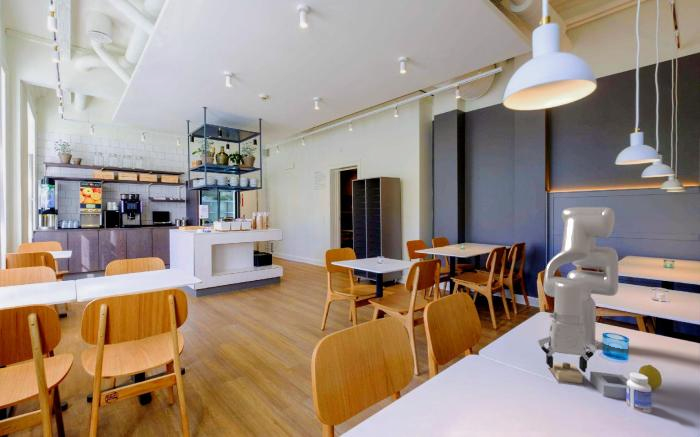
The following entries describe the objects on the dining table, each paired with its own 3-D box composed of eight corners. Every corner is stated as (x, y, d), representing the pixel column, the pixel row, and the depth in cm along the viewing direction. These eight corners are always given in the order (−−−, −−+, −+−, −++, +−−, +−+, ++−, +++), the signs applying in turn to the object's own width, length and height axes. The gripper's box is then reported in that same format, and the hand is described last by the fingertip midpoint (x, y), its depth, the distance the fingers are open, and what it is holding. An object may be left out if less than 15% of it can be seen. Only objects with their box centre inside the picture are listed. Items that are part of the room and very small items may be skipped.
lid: (551, 370, 116) (551, 358, 115) (573, 373, 114) (573, 360, 114) (558, 380, 109) (558, 367, 109) (582, 383, 107) (582, 370, 107)
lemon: (665, 395, 101) (665, 370, 101) (643, 392, 103) (643, 367, 103) (655, 386, 106) (656, 362, 106) (634, 383, 108) (635, 359, 108)
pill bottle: (656, 412, 92) (656, 379, 92) (642, 416, 91) (643, 381, 91) (634, 402, 98) (635, 370, 97) (621, 405, 96) (622, 372, 96)
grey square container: (590, 383, 108) (590, 371, 108) (622, 387, 106) (622, 374, 106) (603, 398, 100) (603, 385, 99) (638, 402, 97) (638, 389, 97)
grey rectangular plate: (547, 369, 118) (547, 367, 118) (573, 372, 116) (573, 370, 116) (558, 385, 107) (558, 383, 107) (586, 388, 105) (586, 386, 105)
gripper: (542, 319, 109) (541, 369, 109) (602, 324, 105) (601, 377, 105) (535, 312, 117) (534, 360, 117) (591, 317, 112) (590, 366, 112)
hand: (566, 368), depth 111 cm, fingers open, 9 cm apart
